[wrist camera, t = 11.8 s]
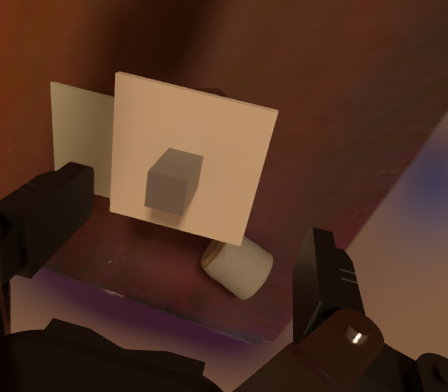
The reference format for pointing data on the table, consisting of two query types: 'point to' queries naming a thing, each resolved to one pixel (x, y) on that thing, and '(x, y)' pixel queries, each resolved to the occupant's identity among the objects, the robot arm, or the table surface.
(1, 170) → the table surface
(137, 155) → the cover board
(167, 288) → the table surface
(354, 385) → the robot arm
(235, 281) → the ceramic mug
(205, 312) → the table surface
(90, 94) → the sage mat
